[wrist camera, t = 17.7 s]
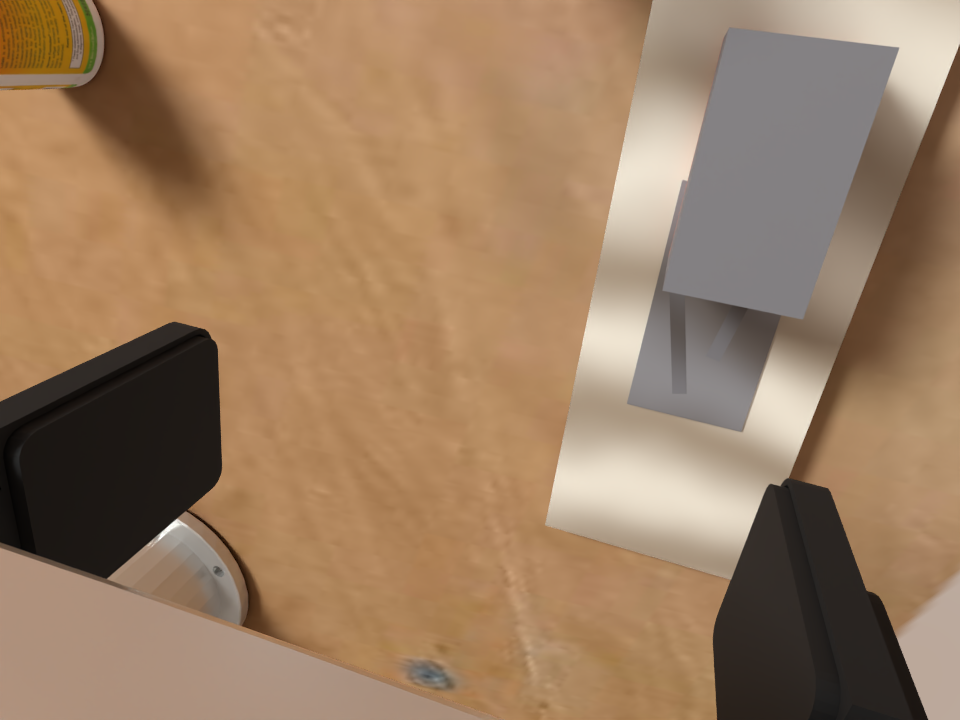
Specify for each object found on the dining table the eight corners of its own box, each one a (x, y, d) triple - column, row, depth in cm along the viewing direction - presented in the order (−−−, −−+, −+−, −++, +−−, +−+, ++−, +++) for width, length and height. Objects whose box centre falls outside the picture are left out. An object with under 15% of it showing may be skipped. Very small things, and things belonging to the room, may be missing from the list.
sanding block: (785, 278, 26) (802, 319, 21) (668, 256, 27) (662, 290, 22) (860, 54, 22) (899, 47, 18) (723, 38, 23) (729, 27, 19)
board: (745, 568, 33) (746, 585, 32) (549, 511, 35) (544, 526, 34) (978, -35, 22) (994, -41, 20) (668, -63, 24) (666, -70, 23)
